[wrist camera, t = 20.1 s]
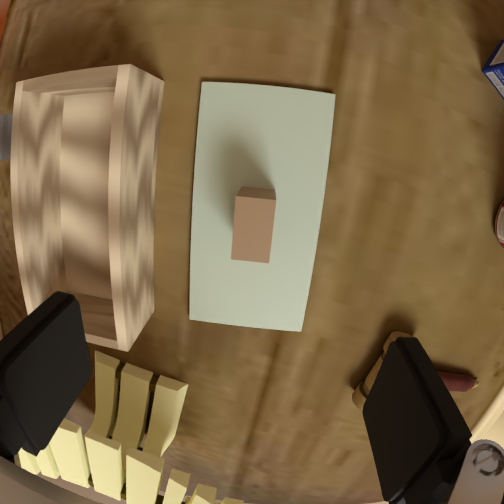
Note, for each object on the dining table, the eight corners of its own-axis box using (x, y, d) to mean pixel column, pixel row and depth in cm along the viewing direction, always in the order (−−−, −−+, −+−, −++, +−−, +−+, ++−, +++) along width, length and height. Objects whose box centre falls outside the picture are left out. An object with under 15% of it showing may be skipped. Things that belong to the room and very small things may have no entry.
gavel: (503, 366, 32) (464, 417, 35) (488, 349, 36) (453, 398, 40) (400, 350, 30) (356, 414, 33) (385, 326, 34) (347, 388, 37)
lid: (204, 83, 27) (187, 68, 21) (332, 96, 27) (349, 83, 20) (191, 313, 35) (176, 348, 29) (300, 325, 35) (305, 363, 28)
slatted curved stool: (54, 398, 42) (5, 471, 25) (45, 326, 37) (-30, 406, 20) (223, 460, 43) (208, 554, 27) (252, 401, 38) (241, 523, 21)
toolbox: (44, 91, 27) (-12, 86, 18) (164, 81, 26) (123, 60, 18) (48, 288, 34) (5, 324, 26) (154, 310, 34) (123, 359, 26)
